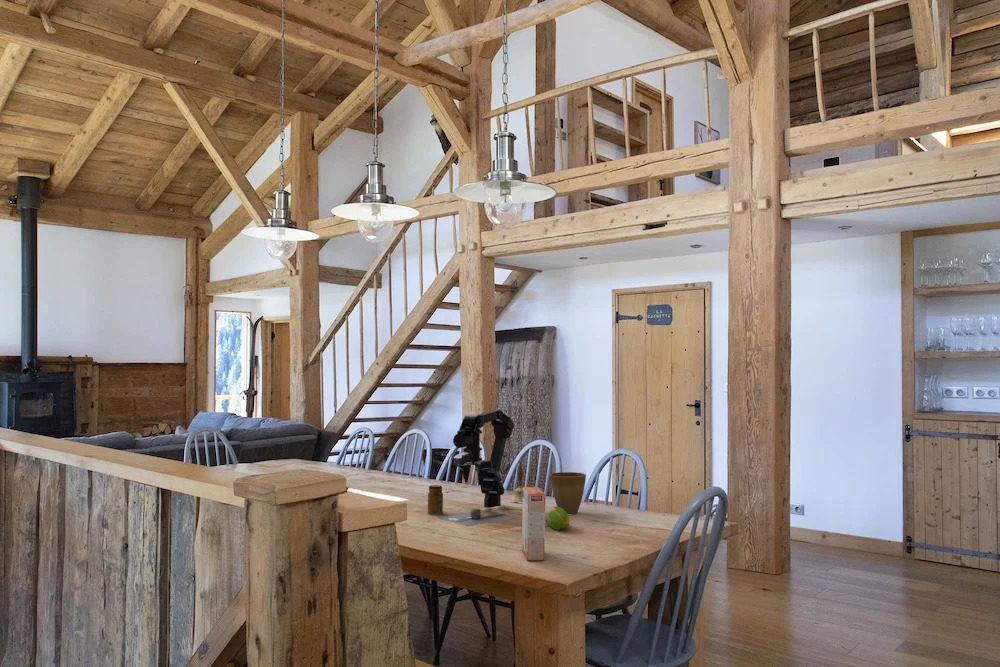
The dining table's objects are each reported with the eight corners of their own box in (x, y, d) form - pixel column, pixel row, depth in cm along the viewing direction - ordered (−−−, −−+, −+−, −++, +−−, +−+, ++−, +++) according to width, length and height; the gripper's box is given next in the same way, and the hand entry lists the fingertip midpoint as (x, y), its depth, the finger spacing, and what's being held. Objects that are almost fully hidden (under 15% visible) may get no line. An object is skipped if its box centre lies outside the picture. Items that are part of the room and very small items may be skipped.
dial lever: (499, 512, 306) (499, 504, 307) (505, 514, 303) (506, 506, 303) (451, 520, 291) (451, 512, 291) (458, 522, 288) (458, 513, 288)
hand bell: (508, 502, 336) (508, 466, 337) (514, 499, 344) (514, 464, 345) (526, 504, 333) (526, 467, 334) (531, 500, 341) (531, 465, 342)
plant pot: (587, 510, 319) (587, 472, 320) (584, 517, 304) (584, 477, 305) (551, 509, 322) (551, 471, 322) (547, 515, 307) (548, 476, 308)
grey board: (487, 512, 314) (487, 509, 314) (519, 519, 299) (519, 517, 299) (436, 520, 297) (436, 517, 297) (467, 528, 282) (467, 525, 282)
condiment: (437, 513, 311) (437, 484, 312) (449, 516, 305) (449, 486, 305) (422, 515, 307) (422, 485, 307) (434, 518, 300) (434, 488, 301)
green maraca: (554, 511, 276) (541, 501, 296) (553, 532, 275) (540, 521, 295) (574, 512, 277) (559, 502, 297) (572, 533, 277) (558, 522, 296)
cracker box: (545, 561, 236) (546, 493, 236) (526, 561, 235) (526, 493, 236) (539, 550, 250) (540, 486, 250) (521, 550, 249) (521, 486, 250)
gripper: (443, 444, 312) (443, 483, 311) (470, 449, 297) (470, 489, 297) (465, 442, 319) (465, 480, 318) (492, 446, 304) (493, 486, 304)
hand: (472, 483), depth 309 cm, fingers open, 9 cm apart
